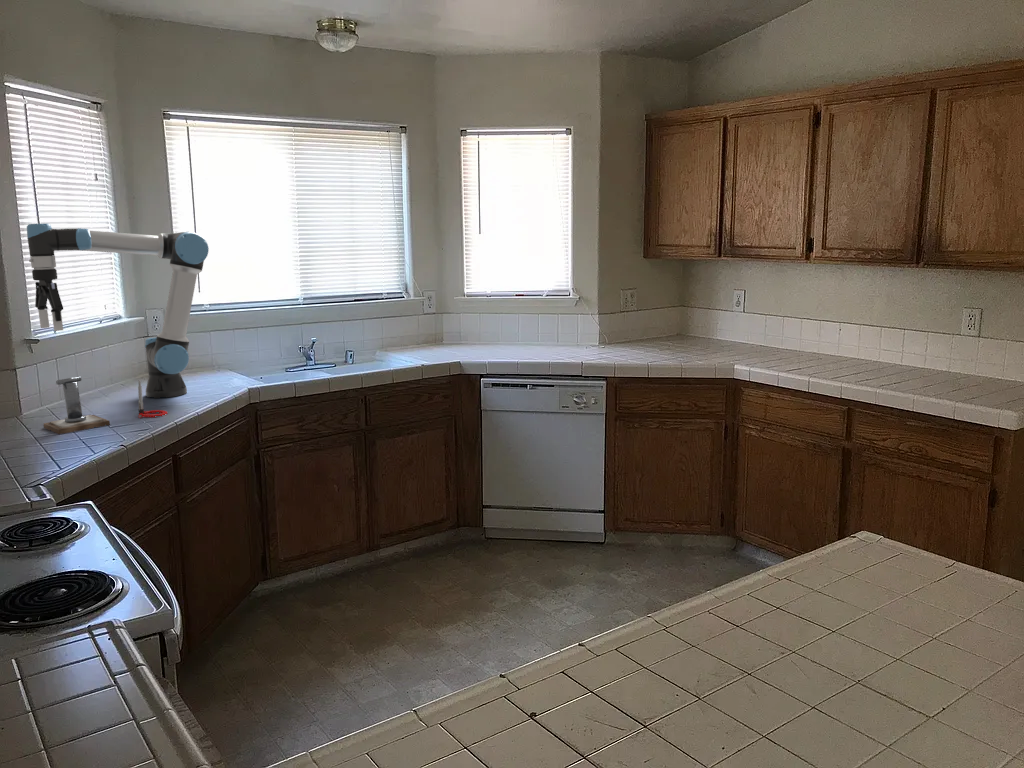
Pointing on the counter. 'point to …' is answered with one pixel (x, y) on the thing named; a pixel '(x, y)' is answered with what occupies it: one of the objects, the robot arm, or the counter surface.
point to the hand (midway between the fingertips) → (51, 329)
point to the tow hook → (141, 409)
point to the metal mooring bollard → (72, 399)
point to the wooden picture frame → (76, 424)
